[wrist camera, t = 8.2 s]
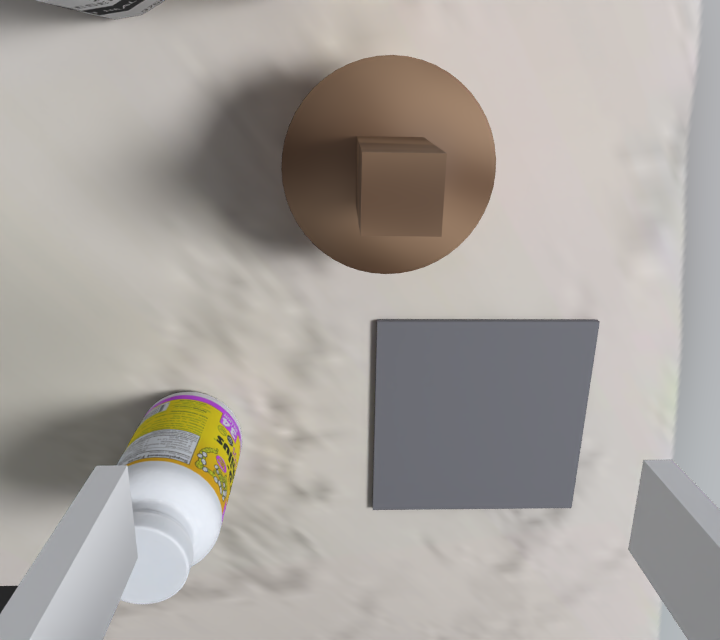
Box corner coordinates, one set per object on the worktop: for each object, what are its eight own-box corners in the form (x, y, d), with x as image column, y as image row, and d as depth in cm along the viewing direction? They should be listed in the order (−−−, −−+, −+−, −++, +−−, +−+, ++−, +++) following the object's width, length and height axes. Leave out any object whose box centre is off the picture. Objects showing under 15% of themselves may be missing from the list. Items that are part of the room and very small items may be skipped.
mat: (569, 504, 46) (571, 508, 46) (372, 506, 46) (372, 509, 45) (597, 319, 41) (599, 321, 41) (377, 319, 41) (377, 321, 41)
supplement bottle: (241, 479, 45) (205, 626, 33) (142, 470, 44) (70, 617, 32) (247, 391, 42) (211, 516, 30) (143, 381, 42) (65, 504, 30)
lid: (481, 268, 35) (522, 322, 27) (285, 266, 34) (270, 320, 27) (499, 58, 31) (552, 52, 24) (281, 53, 31) (262, 45, 23)
